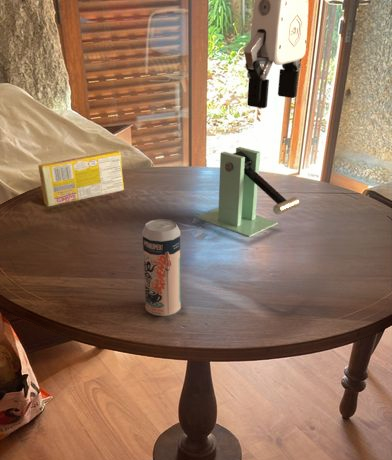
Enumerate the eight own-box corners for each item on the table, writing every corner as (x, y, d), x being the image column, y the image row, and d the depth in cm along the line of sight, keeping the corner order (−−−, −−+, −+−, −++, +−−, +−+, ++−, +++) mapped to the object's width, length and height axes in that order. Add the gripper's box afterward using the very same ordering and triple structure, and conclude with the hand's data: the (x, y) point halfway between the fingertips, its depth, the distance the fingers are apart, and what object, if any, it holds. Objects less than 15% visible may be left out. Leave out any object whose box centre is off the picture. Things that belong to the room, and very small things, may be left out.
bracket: (277, 229, 100) (284, 154, 92) (248, 242, 95) (254, 165, 88) (225, 211, 106) (228, 140, 99) (196, 222, 101) (197, 149, 94)
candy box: (119, 191, 114) (116, 149, 110) (124, 194, 113) (122, 152, 108) (43, 208, 106) (37, 163, 102) (48, 211, 105) (42, 166, 100)
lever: (295, 210, 94) (301, 199, 92) (277, 218, 91) (283, 207, 89) (240, 160, 97) (246, 149, 95) (221, 167, 94) (227, 155, 92)
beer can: (138, 308, 77) (133, 224, 70) (166, 297, 79) (164, 215, 72) (159, 322, 74) (157, 236, 67) (188, 310, 76) (188, 226, 70)
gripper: (276, -25, 74) (266, 114, 83) (332, -27, 85) (317, 96, 95) (228, -27, 77) (223, 107, 87) (288, -28, 89) (277, 90, 99)
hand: (272, 101), depth 91 cm, fingers open, 9 cm apart
